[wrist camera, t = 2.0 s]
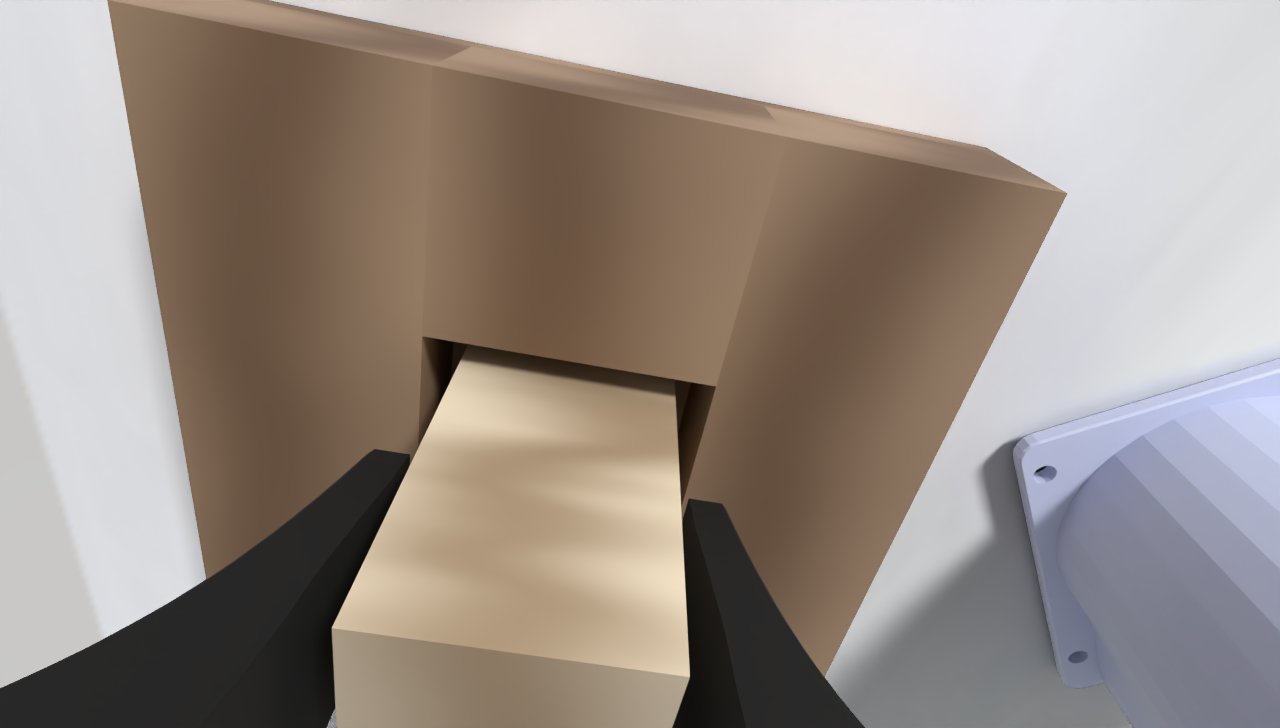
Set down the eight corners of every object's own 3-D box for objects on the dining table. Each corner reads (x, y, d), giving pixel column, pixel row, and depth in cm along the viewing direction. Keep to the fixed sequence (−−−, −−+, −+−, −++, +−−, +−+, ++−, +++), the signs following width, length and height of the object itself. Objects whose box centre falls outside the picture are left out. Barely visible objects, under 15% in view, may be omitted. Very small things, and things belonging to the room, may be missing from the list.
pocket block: (986, 147, 13) (1067, 193, 11) (776, 634, 20) (795, 735, 18) (224, -9, 12) (107, -1, 10) (279, 564, 19) (220, 659, 16)
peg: (672, 343, 15) (690, 677, 8) (637, 487, 17) (628, 854, 10) (484, 310, 15) (332, 627, 8) (471, 460, 17) (341, 821, 10)
